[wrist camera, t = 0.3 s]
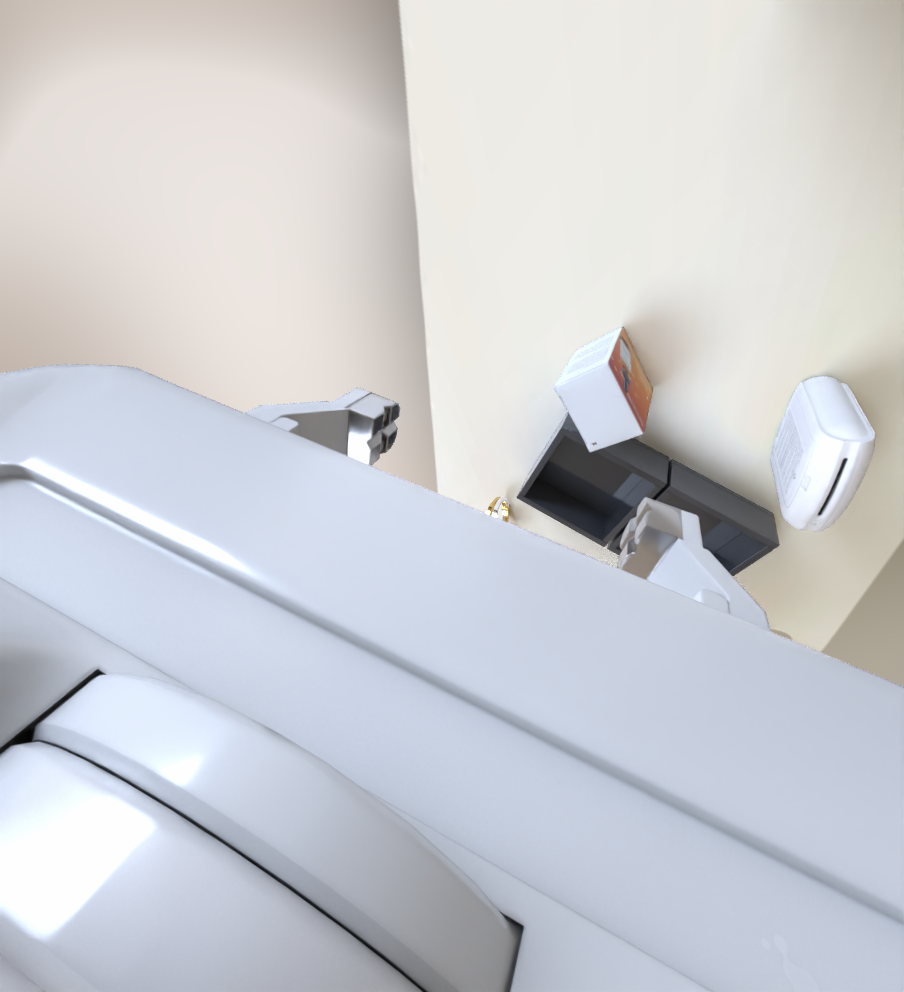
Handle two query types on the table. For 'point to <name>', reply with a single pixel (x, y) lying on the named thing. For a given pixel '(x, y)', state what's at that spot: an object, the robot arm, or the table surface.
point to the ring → (495, 507)
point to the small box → (606, 391)
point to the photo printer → (820, 453)
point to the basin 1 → (593, 482)
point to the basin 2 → (717, 518)
